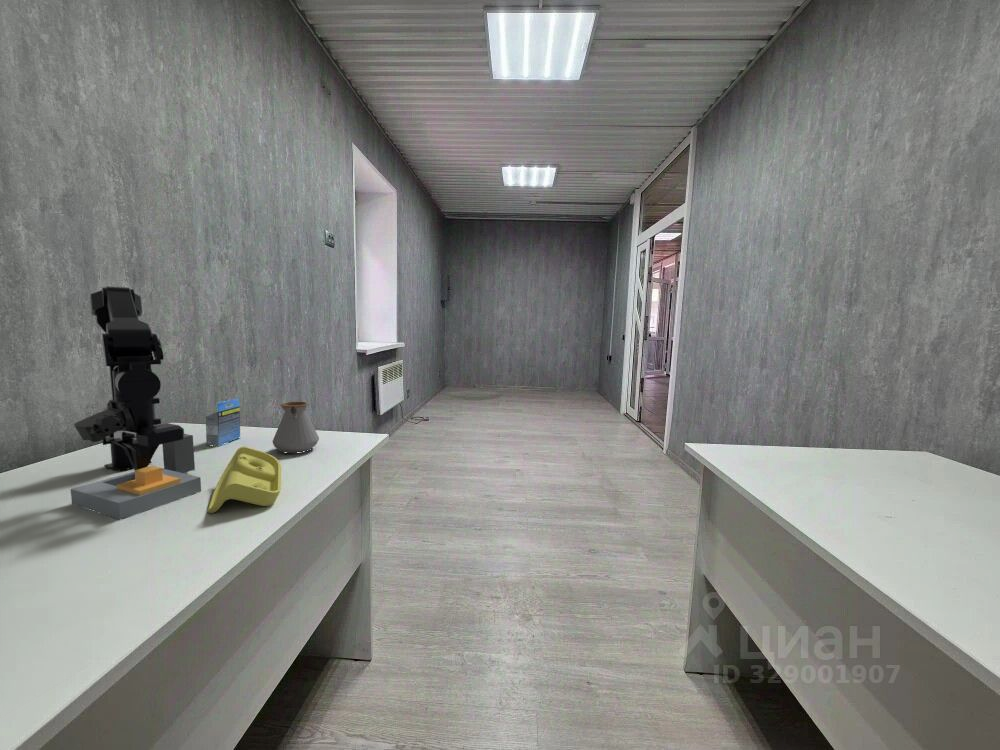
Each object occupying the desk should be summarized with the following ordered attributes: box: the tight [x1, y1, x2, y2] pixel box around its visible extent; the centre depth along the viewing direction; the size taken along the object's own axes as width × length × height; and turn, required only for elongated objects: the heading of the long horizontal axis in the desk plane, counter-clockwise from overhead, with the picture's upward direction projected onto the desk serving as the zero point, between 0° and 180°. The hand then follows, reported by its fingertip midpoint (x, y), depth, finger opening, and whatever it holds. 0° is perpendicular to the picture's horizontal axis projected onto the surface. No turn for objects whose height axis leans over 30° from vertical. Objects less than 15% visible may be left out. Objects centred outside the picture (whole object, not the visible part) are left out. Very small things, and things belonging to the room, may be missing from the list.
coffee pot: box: [272, 401, 320, 453], centre depth 112 cm, size 21×12×15 cm, turn 24°
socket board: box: [70, 467, 202, 520], centre depth 84 cm, size 15×14×3 cm
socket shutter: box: [117, 465, 181, 495], centre depth 83 cm, size 7×7×3 cm
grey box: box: [161, 433, 196, 474], centre depth 96 cm, size 4×4×9 cm
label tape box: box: [205, 397, 241, 447], centre depth 122 cm, size 9×4×12 cm, turn 174°
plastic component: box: [206, 445, 282, 514], centre depth 88 cm, size 20×7×10 cm
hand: (140, 473), depth 83 cm, fingers closed
